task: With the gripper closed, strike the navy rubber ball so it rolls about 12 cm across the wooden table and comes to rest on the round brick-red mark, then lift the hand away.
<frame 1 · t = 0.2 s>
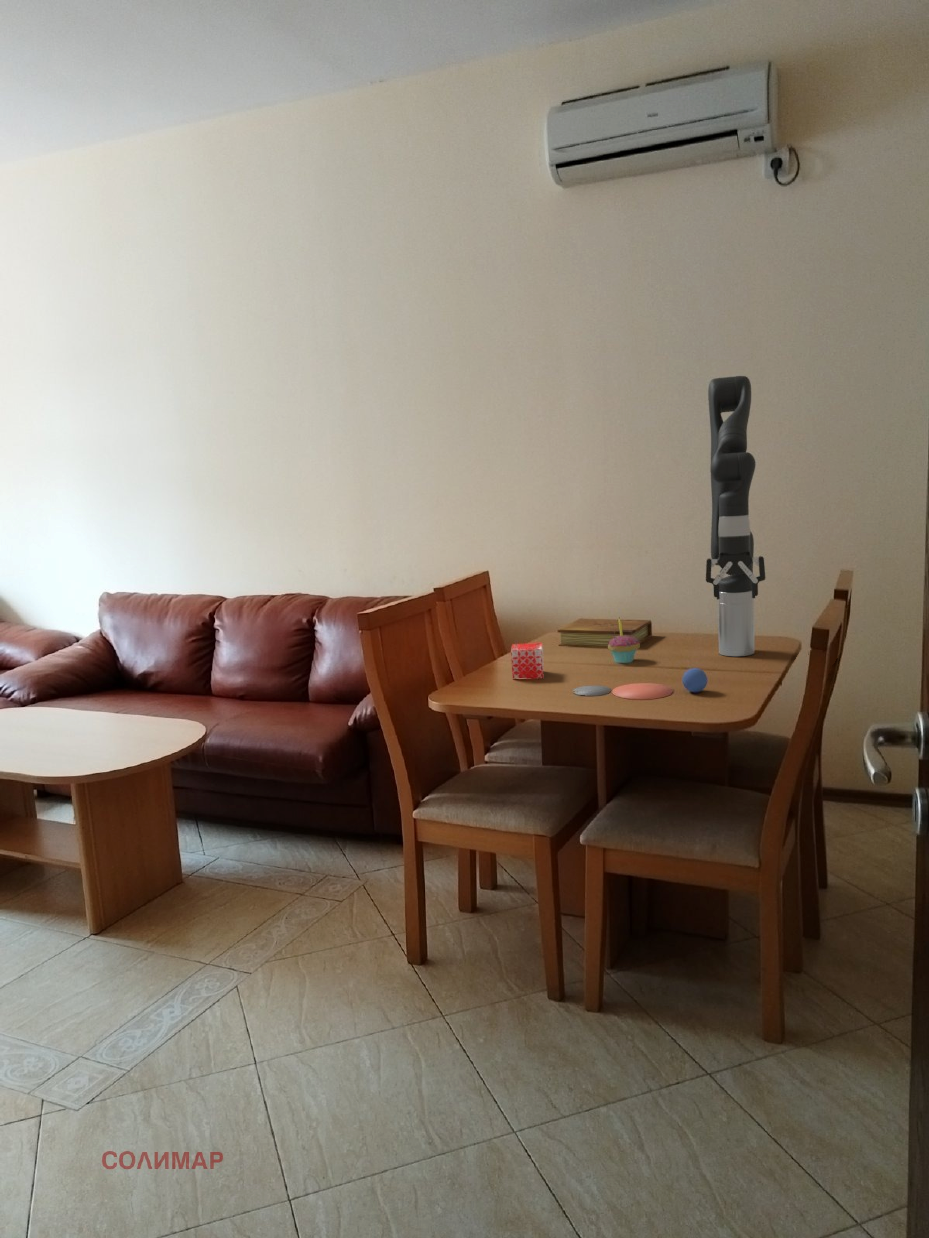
hand: (735, 598, 220), 17 cm above the table, tool pointing down, fingers open, 8 cm apart
ball: (694, 680, 201), on the table
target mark: (642, 691, 205), on the table
diary: (605, 643, 265), on the table
cupcake: (624, 662, 237), on the table
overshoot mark: (591, 691, 209), on the table
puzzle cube: (528, 676, 229), on the table
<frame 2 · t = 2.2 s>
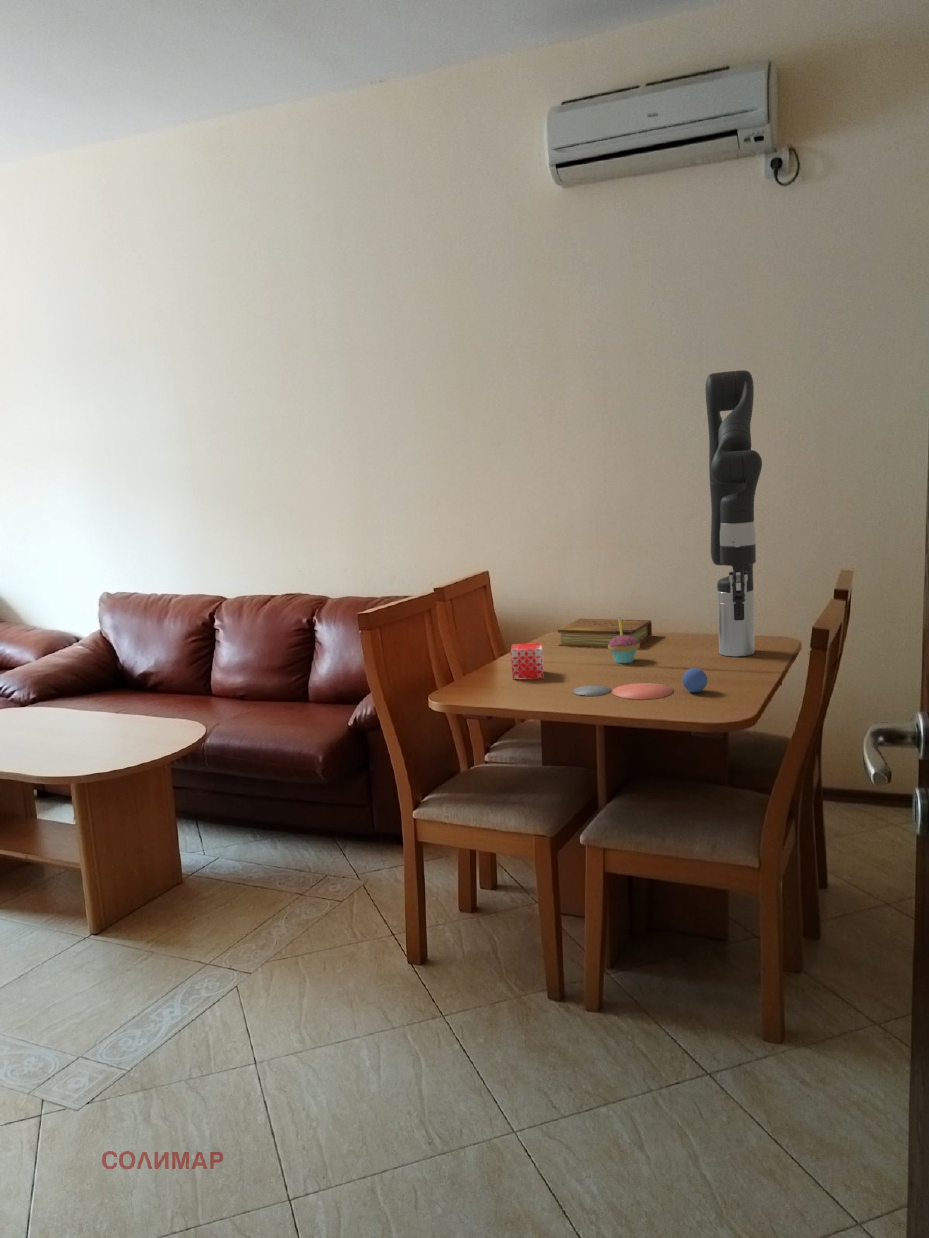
hand: (739, 619, 196), 17 cm above the table, tool pointing down, fingers closed
nothing on the table moved.
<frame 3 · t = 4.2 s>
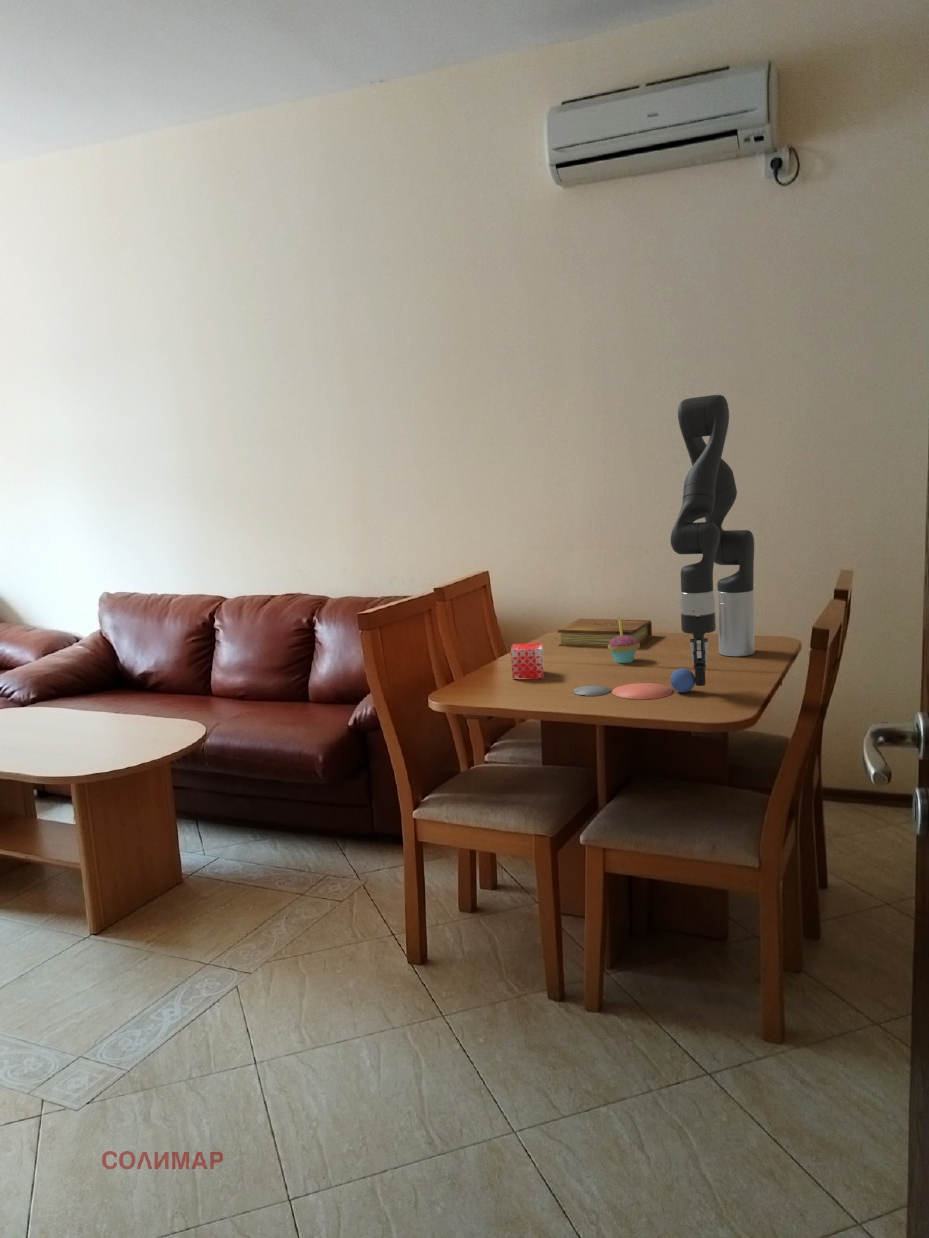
hand: (700, 685, 200), 2 cm above the table, tool pointing down, fingers closed
ball: (682, 680, 202), on the table, touching gripper
everything else where it was.
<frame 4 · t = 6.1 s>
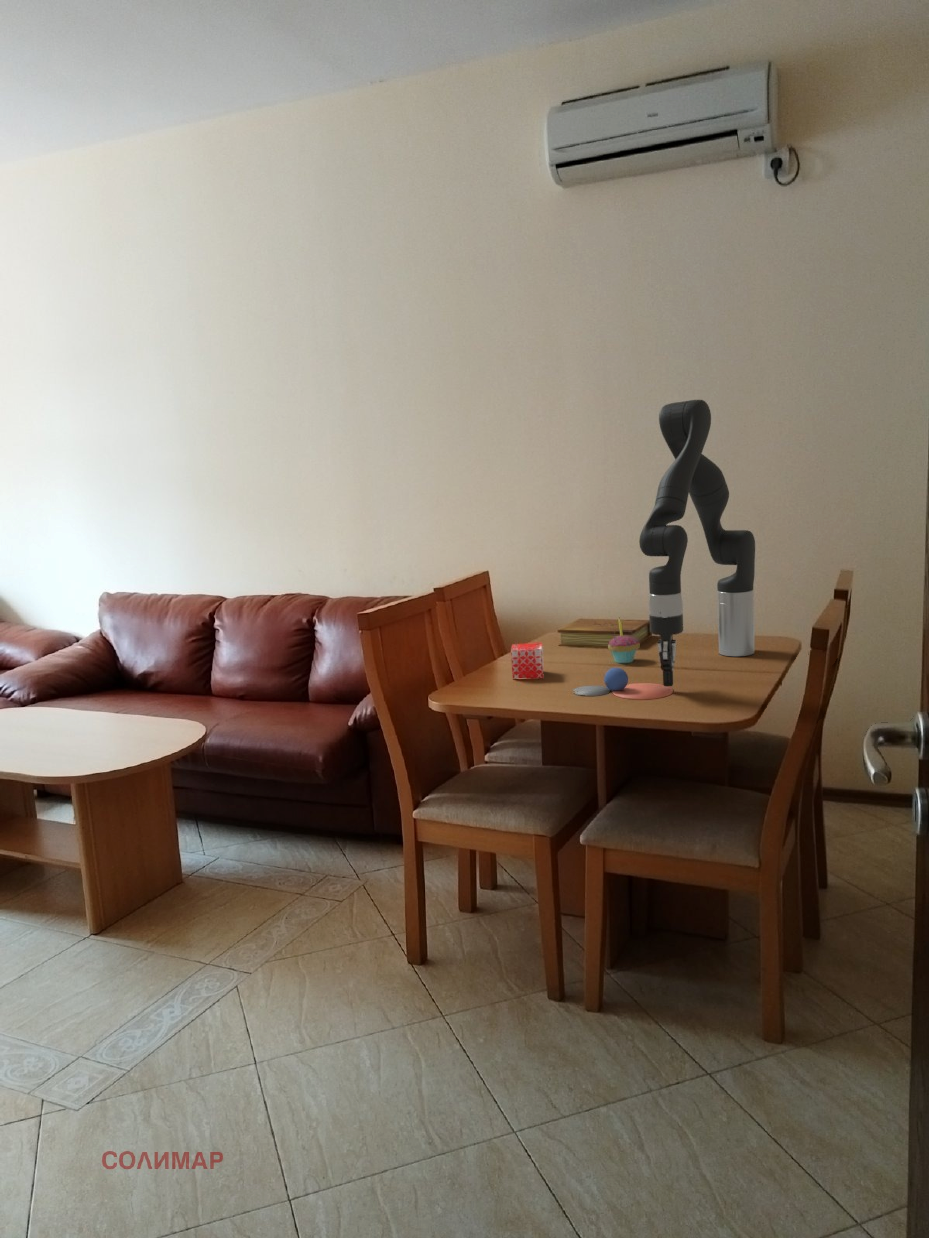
hand: (668, 685, 203), 2 cm above the table, tool pointing down, fingers closed
ball: (616, 679, 207), on the table
everything else where it was.
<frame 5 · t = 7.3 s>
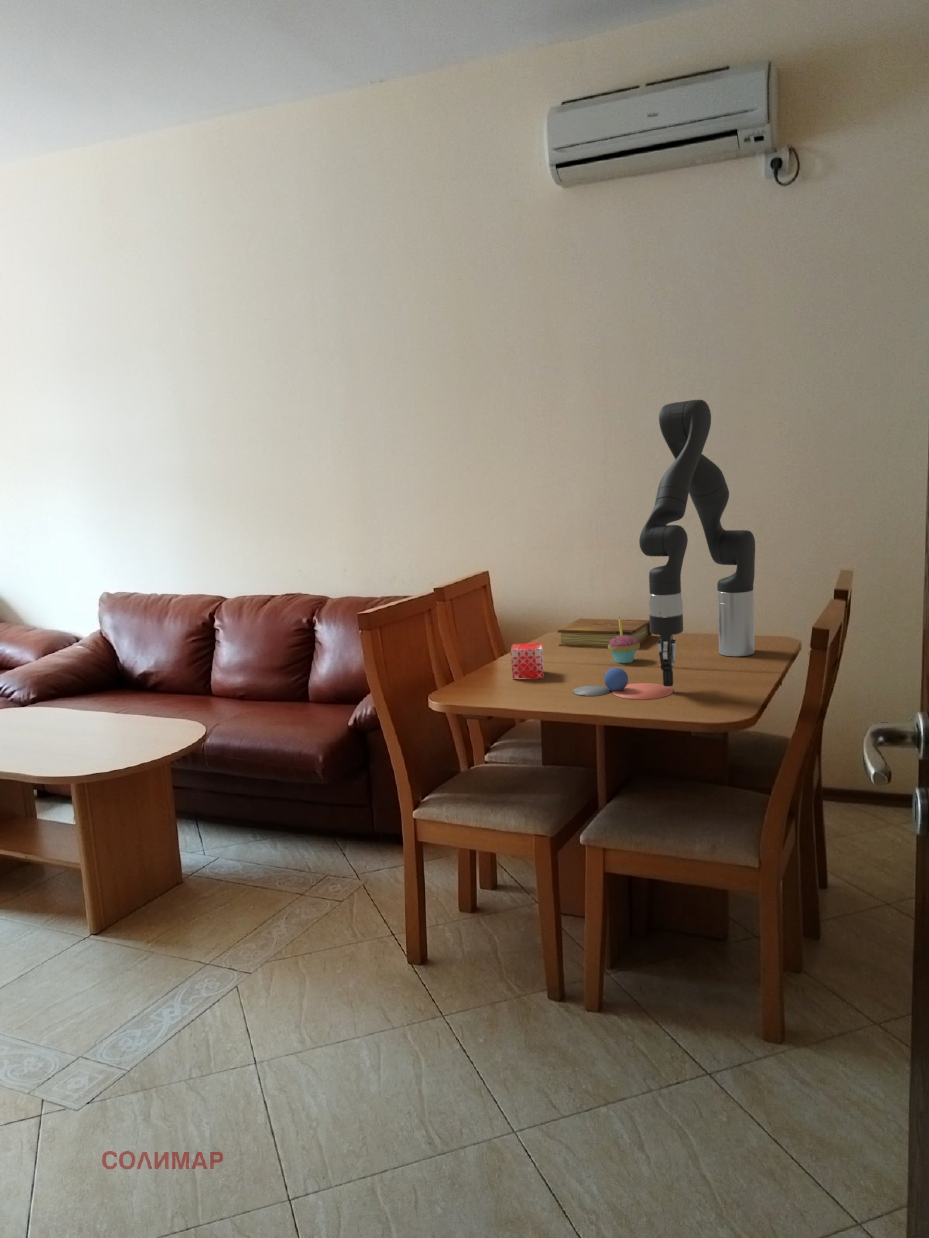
hand: (668, 685, 203), 2 cm above the table, tool pointing down, fingers closed
nothing on the table moved.
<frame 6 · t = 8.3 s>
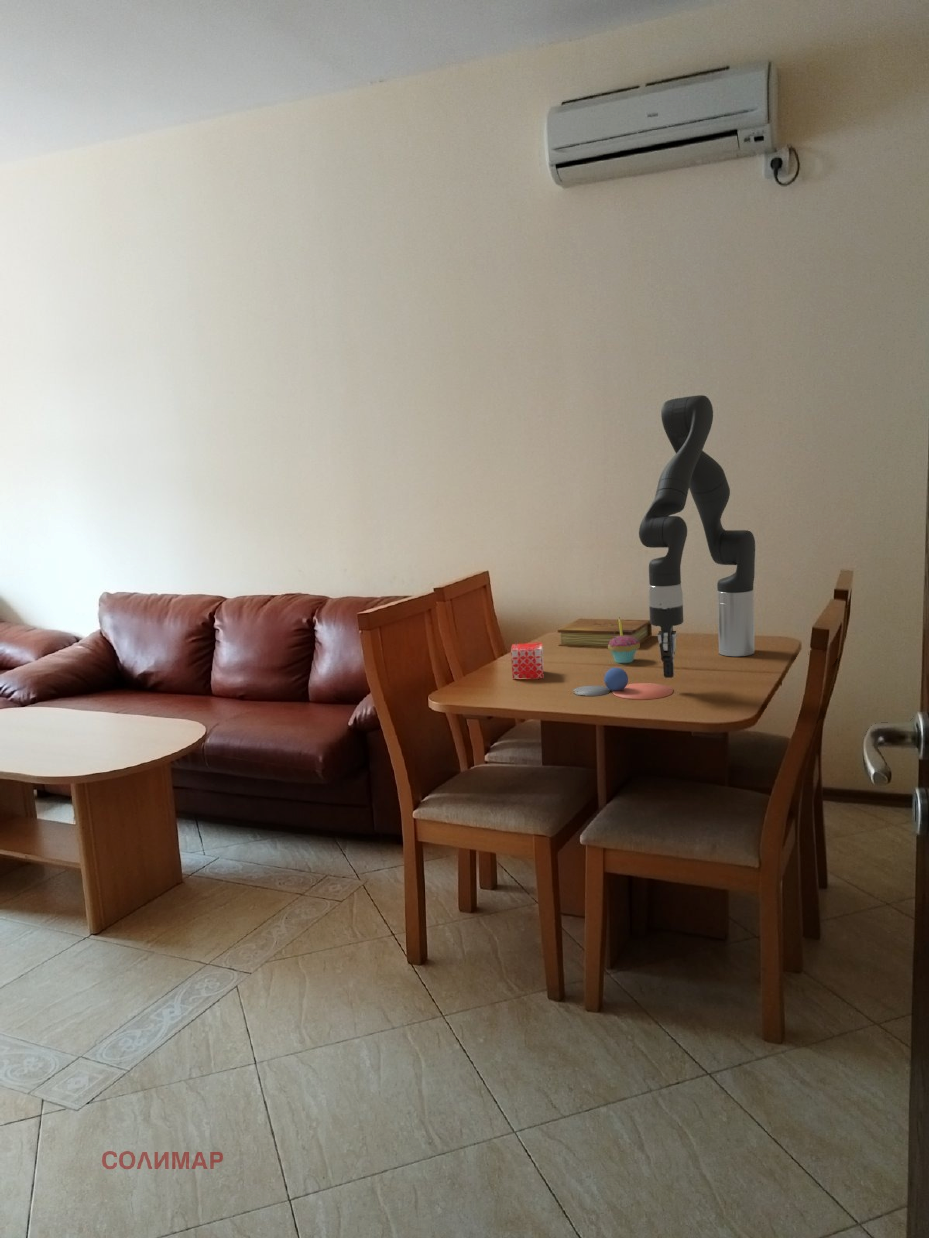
hand: (668, 676, 203), 4 cm above the table, tool pointing down, fingers closed
nothing on the table moved.
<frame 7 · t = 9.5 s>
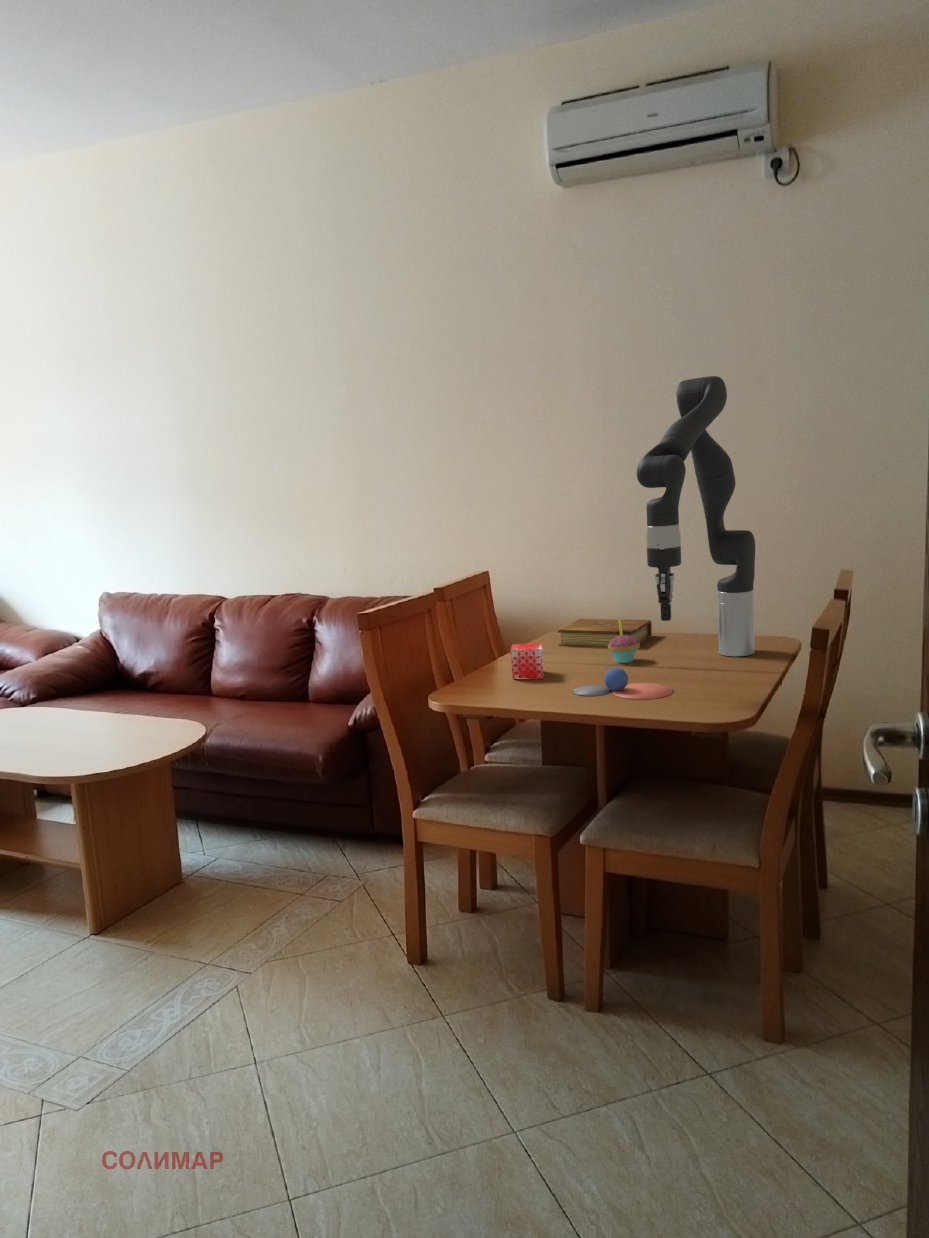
hand: (666, 620, 200), 17 cm above the table, tool pointing down, fingers closed
nothing on the table moved.
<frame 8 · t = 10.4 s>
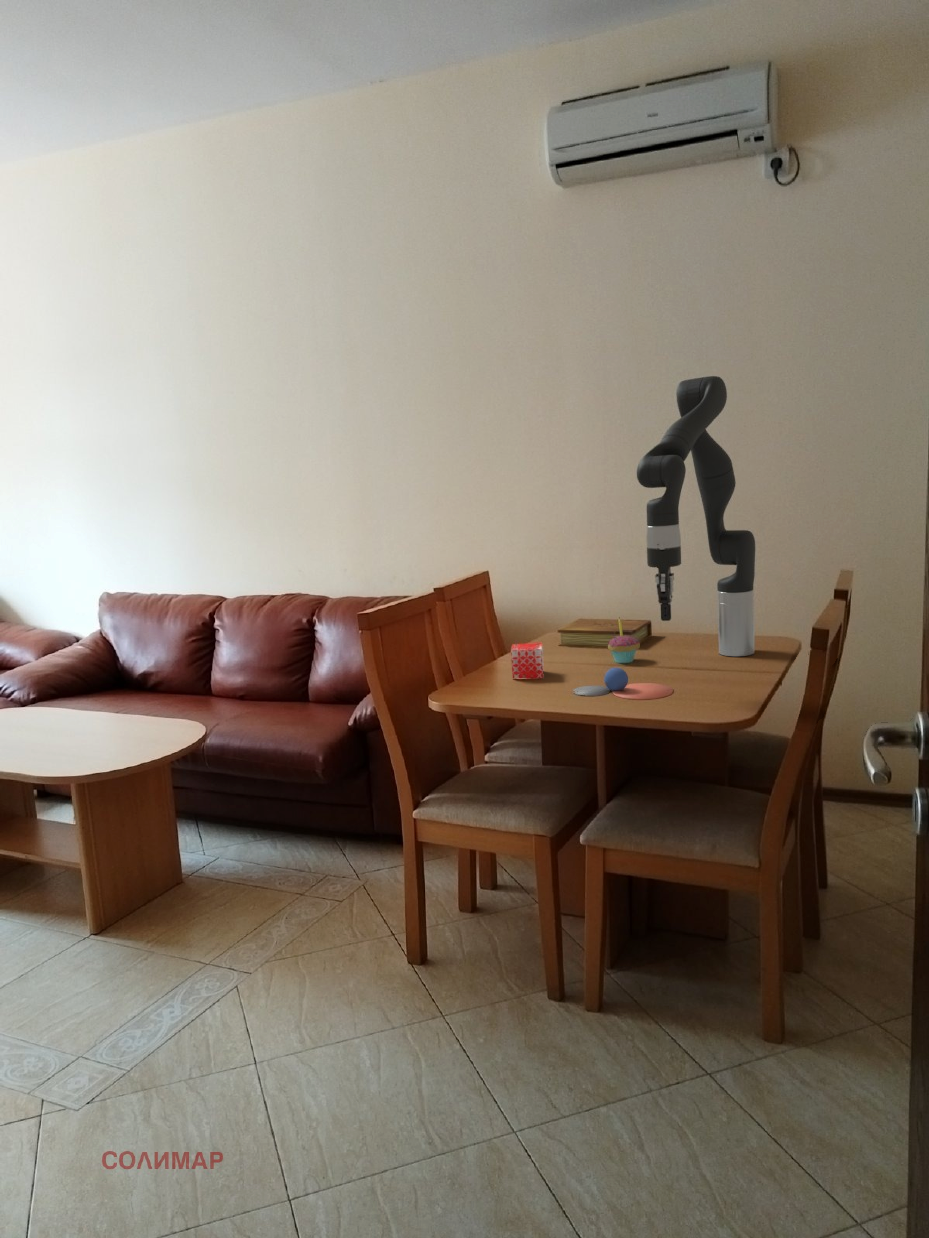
hand: (666, 620, 200), 17 cm above the table, tool pointing down, fingers closed
nothing on the table moved.
at the end: ball 6.1 cm from the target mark (horizontally); ball at rest at the end (0.0 cm/s); ball moved 18.1 cm from its start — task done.
